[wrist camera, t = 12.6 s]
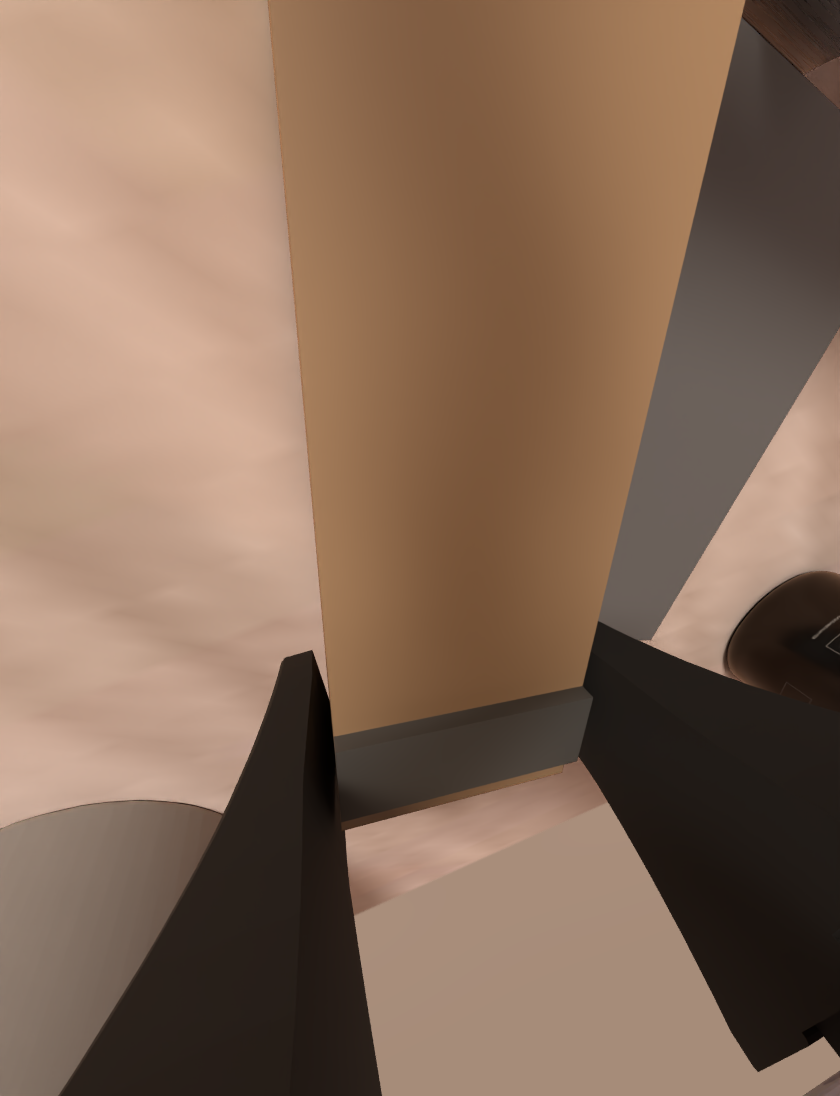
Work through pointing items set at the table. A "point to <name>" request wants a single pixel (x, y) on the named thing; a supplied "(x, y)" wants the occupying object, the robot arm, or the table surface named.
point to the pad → (733, 325)
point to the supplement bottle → (793, 641)
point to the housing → (798, 28)
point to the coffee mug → (82, 924)
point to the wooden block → (479, 352)
